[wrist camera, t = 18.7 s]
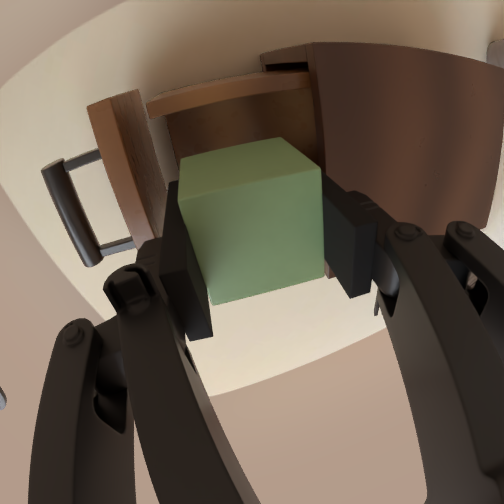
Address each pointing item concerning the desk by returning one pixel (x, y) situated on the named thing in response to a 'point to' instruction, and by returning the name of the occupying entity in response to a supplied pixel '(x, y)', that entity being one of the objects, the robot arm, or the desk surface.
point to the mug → (496, 53)
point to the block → (253, 217)
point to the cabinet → (405, 127)
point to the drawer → (177, 145)
